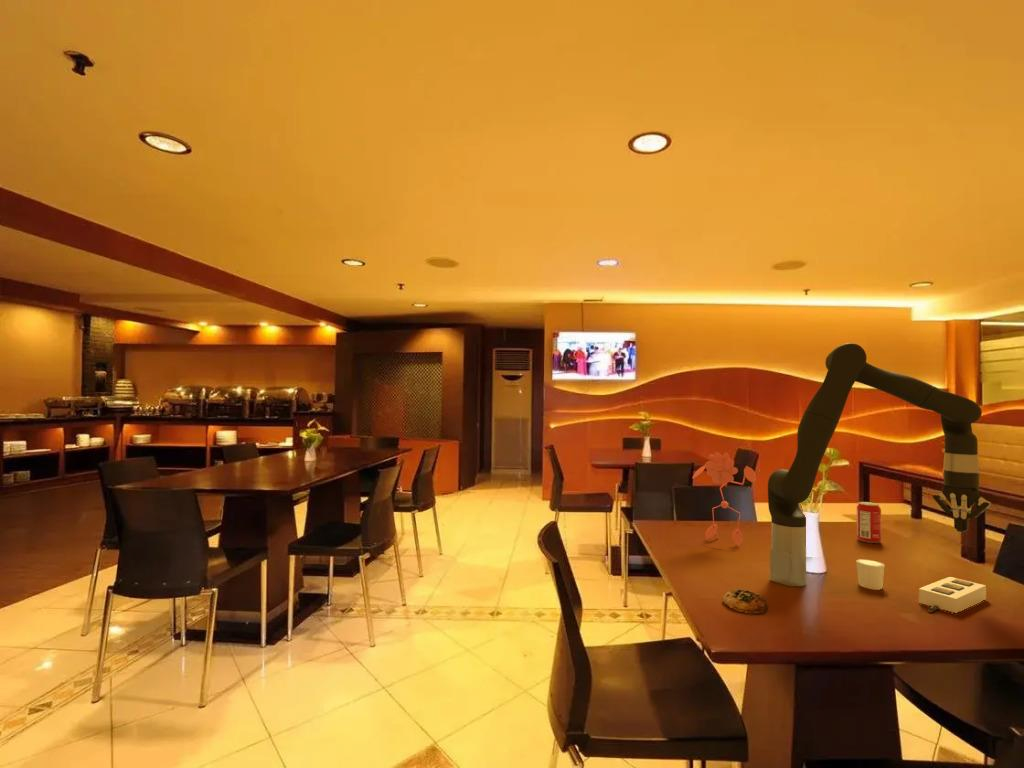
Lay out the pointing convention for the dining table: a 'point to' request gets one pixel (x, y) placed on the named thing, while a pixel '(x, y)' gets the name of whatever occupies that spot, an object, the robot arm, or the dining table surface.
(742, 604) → the bread roll
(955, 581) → the switch
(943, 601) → the power strip
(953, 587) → the switch middle
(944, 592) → the switch
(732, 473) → the pink stick figure
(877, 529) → the soda can
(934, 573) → the dining table surface
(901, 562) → the dining table surface
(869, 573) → the white soft cylinder
